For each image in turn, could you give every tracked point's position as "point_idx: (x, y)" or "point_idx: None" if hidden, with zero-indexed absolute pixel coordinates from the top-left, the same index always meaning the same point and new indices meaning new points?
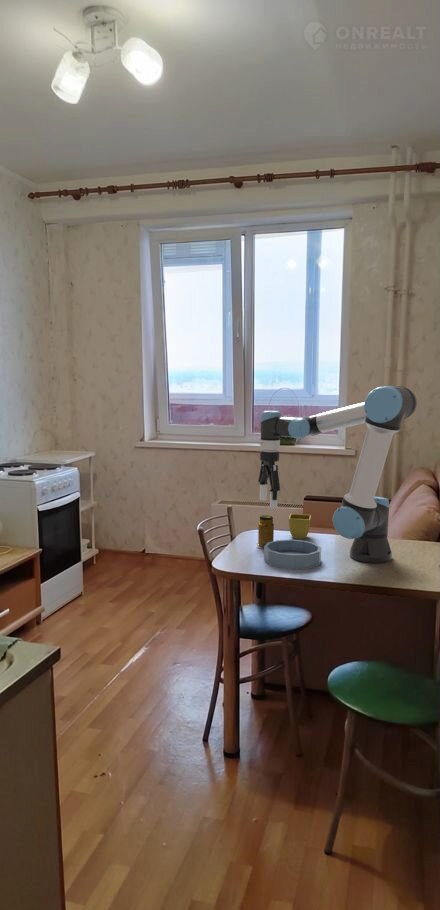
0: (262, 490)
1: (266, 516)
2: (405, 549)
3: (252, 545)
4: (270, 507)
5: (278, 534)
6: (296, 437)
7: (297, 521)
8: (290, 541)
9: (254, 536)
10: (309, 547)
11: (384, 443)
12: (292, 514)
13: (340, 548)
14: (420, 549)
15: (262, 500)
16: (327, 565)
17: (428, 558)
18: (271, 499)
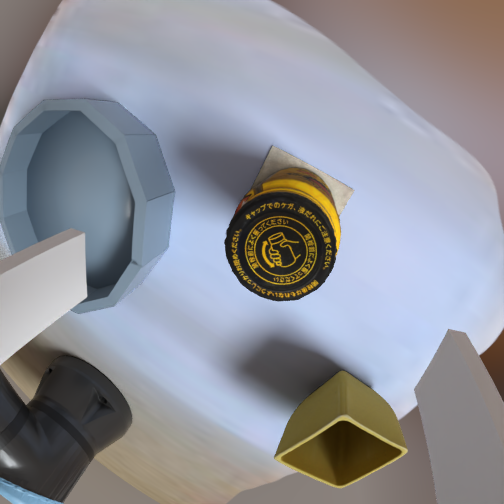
0: (473, 446)
1: (290, 260)
2: (137, 469)
3: (330, 149)
4: (66, 231)
5: (422, 351)
6: None
7: (312, 427)
8: (134, 258)
9: (457, 246)
10: (97, 294)
11: None
12: (399, 453)
13: (169, 404)
14: (134, 479)
15: (436, 355)
16: None
17: None
18: (3, 268)
